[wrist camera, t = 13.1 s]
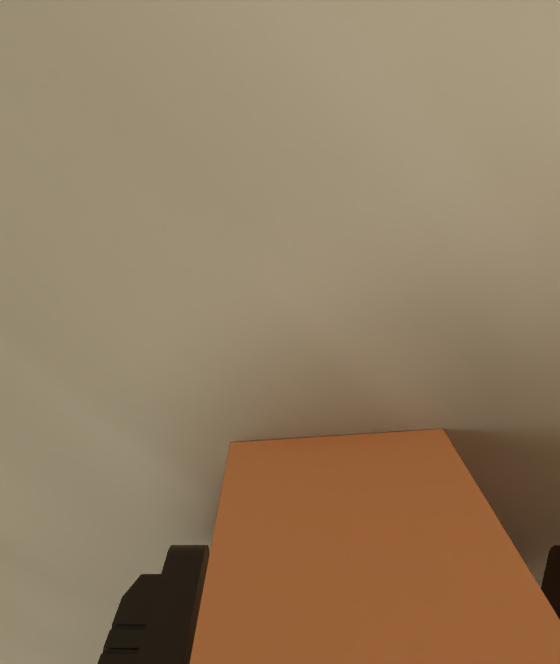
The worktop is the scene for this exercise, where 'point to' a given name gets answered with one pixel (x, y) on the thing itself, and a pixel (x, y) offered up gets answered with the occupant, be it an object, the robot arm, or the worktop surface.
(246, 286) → the worktop surface
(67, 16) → the worktop surface
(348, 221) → the worktop surface
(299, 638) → the plug
